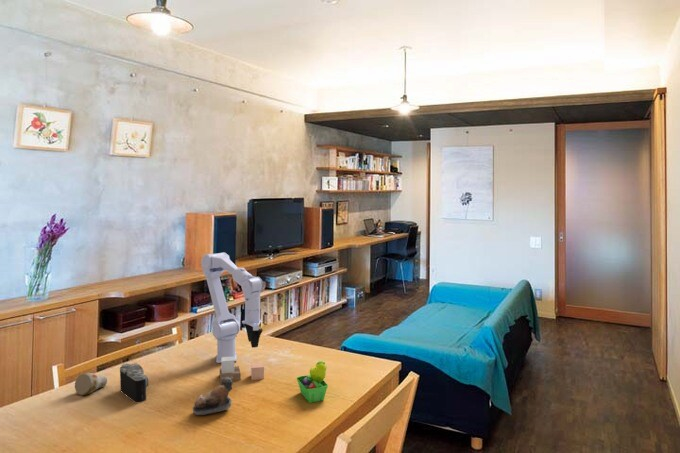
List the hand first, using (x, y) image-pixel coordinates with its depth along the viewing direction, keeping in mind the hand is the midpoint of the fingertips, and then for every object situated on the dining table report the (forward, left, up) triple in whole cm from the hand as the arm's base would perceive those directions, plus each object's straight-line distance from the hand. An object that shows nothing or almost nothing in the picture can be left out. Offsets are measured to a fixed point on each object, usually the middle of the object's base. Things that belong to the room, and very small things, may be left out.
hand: (253, 344), depth 170 cm
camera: (+13, -39, -10) cm, 42 cm away
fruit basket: (+29, +18, -10) cm, 36 cm away
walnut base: (+6, -9, -10) cm, 15 cm away
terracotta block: (+8, +1, -10) cm, 13 cm away
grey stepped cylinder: (+6, -55, -10) cm, 56 cm away
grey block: (+6, -10, -7) cm, 13 cm away
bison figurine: (+32, -14, -10) cm, 36 cm away
